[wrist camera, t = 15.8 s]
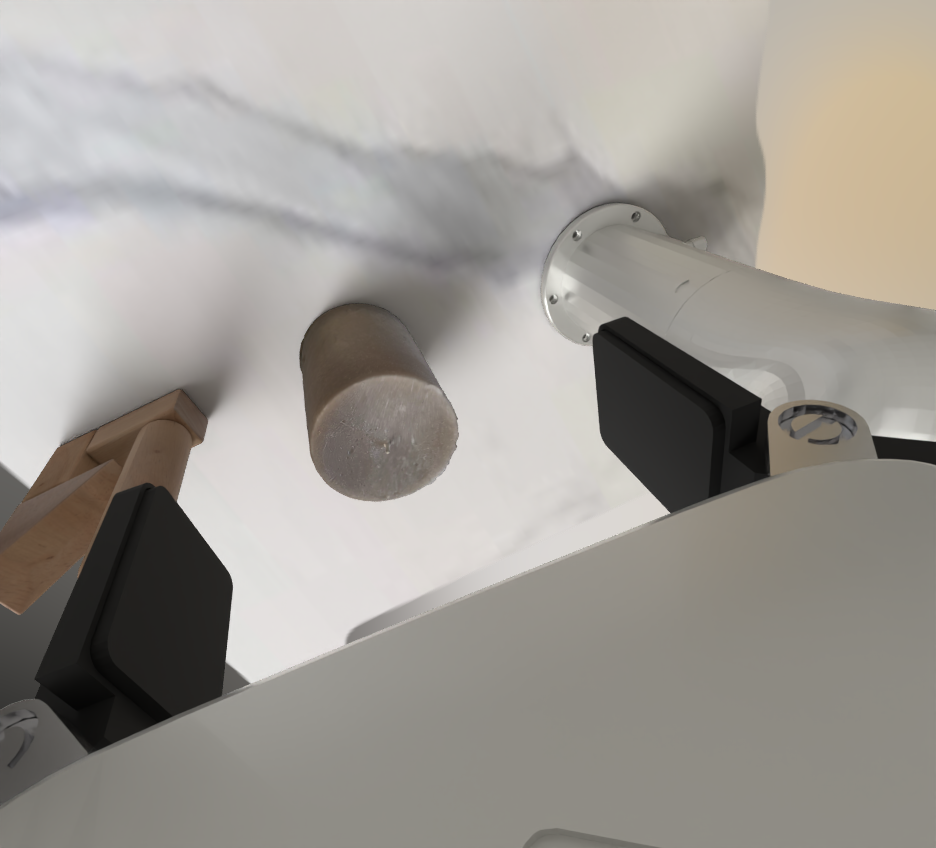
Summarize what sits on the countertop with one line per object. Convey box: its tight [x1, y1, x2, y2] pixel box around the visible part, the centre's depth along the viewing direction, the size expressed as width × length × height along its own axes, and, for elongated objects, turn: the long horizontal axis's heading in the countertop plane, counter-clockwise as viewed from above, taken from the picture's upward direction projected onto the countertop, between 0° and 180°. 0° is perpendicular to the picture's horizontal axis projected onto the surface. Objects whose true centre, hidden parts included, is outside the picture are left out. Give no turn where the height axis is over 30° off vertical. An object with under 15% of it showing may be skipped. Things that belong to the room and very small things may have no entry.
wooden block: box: [0, 389, 208, 615], centre depth 34 cm, size 4×11×18 cm, turn 111°
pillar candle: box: [299, 304, 459, 502], centre depth 38 cm, size 10×10×15 cm
